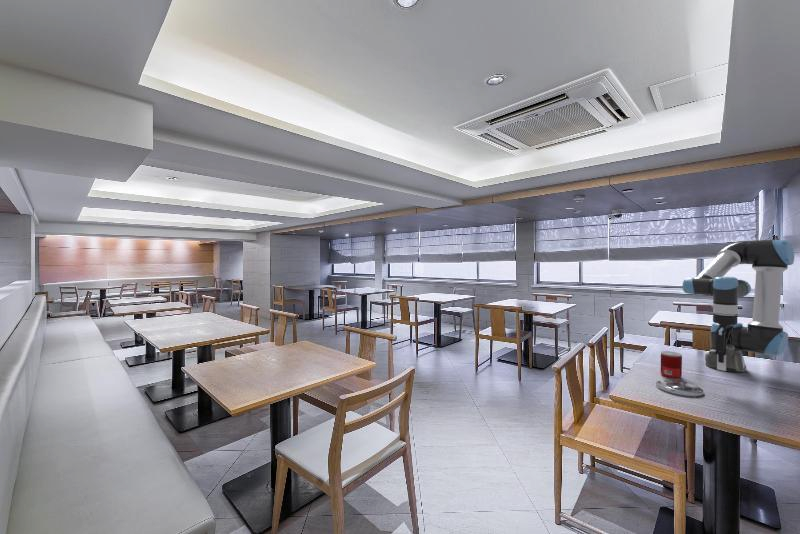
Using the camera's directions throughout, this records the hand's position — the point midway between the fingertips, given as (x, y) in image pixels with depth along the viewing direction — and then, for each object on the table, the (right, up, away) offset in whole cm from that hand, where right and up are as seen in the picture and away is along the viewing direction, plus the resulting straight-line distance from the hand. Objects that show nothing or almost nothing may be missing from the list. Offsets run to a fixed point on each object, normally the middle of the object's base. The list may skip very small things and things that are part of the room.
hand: (724, 367), depth 147 cm
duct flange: (-16, -10, +4) cm, 20 cm away
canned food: (-7, -10, +20) cm, 23 cm away
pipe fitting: (0, -1, 0) cm, 1 cm away
